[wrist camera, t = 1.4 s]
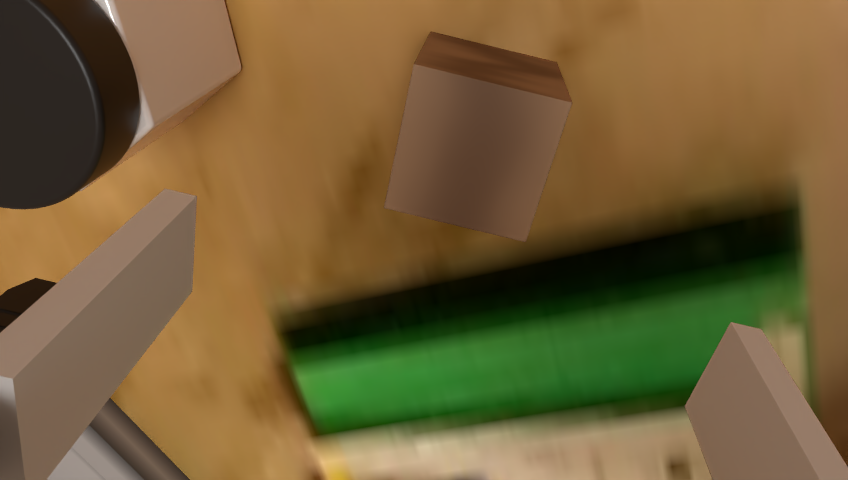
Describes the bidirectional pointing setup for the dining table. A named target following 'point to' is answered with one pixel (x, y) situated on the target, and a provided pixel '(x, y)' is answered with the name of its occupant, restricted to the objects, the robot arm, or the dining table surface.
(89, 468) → the grey tray
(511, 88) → the walnut block
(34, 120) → the jar
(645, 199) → the dining table surface
